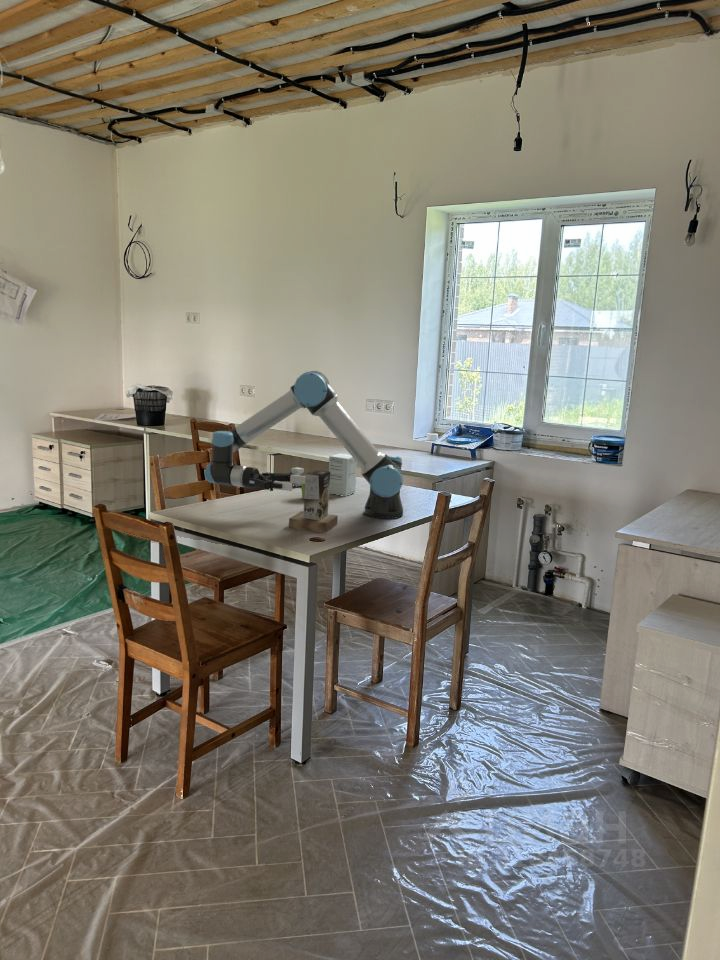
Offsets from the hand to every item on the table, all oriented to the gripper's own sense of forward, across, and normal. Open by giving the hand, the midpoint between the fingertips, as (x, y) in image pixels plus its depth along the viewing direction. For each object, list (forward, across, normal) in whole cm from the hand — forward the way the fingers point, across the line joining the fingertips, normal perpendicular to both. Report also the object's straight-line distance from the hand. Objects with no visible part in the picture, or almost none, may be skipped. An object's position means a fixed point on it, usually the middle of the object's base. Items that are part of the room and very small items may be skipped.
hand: (299, 483), depth 238 cm
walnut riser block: (+6, 0, -16) cm, 17 cm away
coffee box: (+6, 0, -12) cm, 13 cm away
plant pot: (-12, -39, -15) cm, 44 cm away
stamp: (-27, -60, -15) cm, 68 cm away
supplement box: (-4, -56, -15) cm, 58 cm away
